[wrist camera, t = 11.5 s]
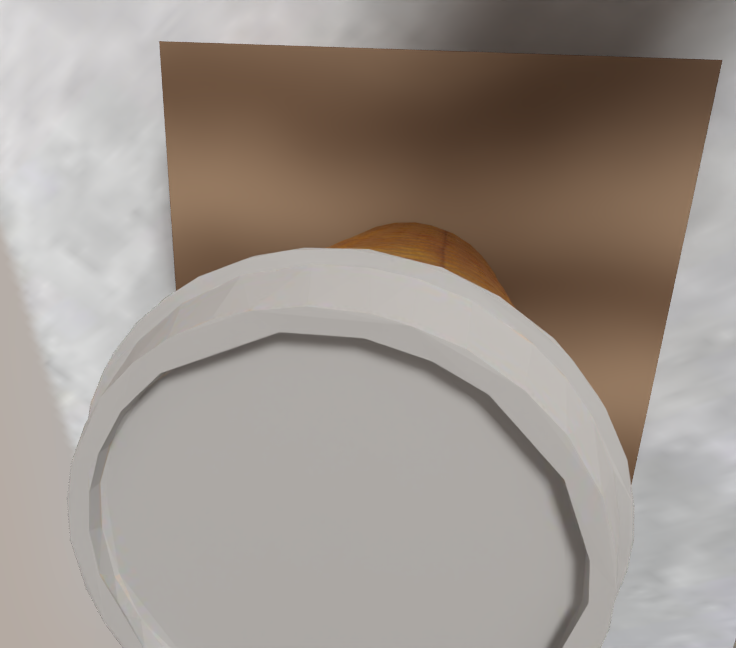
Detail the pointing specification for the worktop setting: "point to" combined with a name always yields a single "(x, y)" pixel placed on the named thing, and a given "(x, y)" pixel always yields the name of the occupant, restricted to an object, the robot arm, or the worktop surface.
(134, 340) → the disposable coffee cup
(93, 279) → the worktop surface
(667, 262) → the walnut base
